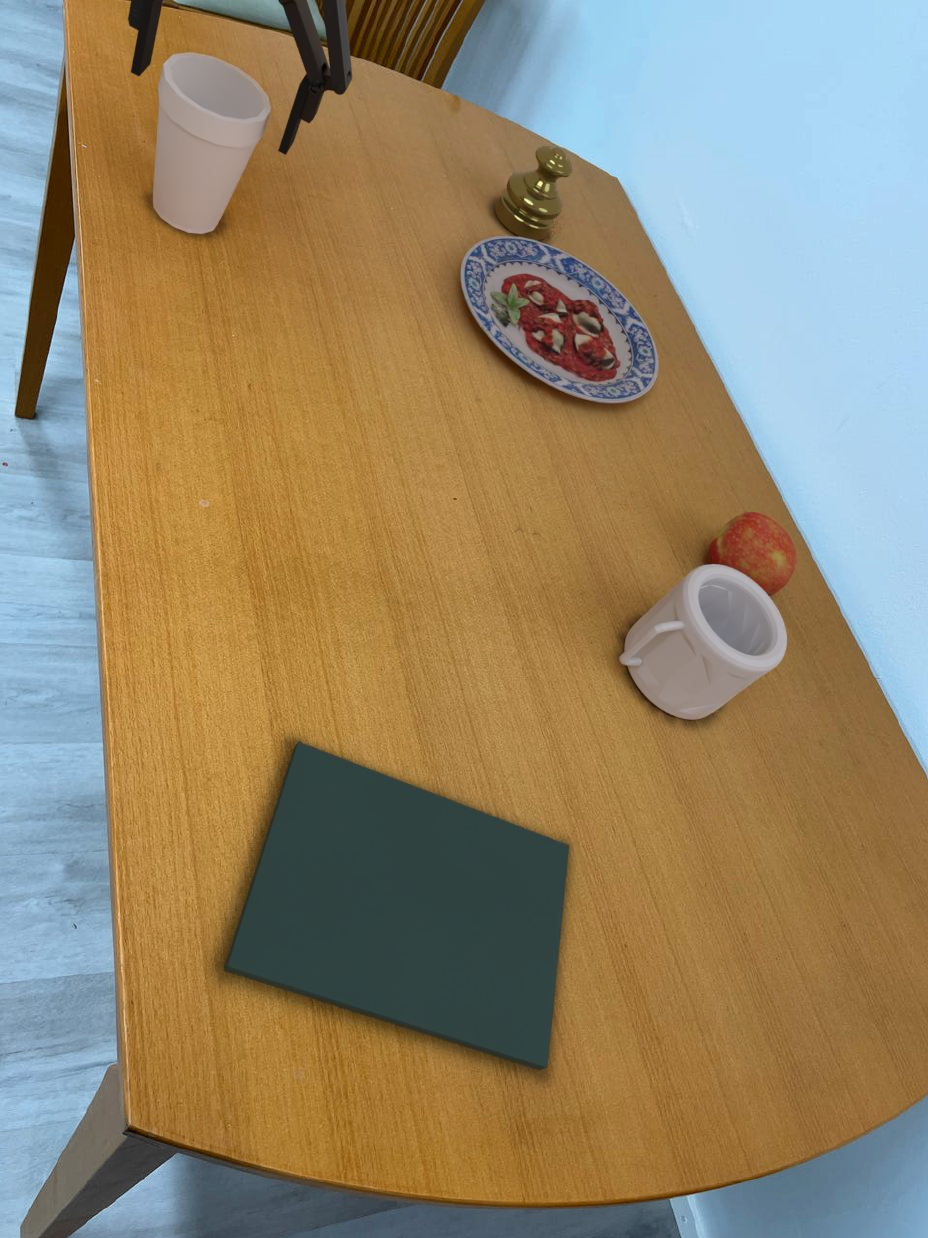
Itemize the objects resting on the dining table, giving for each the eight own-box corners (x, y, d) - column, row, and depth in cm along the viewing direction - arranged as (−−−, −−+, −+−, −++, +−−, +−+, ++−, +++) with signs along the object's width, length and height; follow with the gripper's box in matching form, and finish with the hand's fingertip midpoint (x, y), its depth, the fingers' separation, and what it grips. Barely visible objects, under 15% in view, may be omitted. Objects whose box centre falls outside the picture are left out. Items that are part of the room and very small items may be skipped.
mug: (690, 618, 95) (756, 560, 88) (736, 717, 91) (810, 664, 83) (580, 623, 88) (643, 560, 81) (624, 730, 84) (694, 674, 76)
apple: (714, 534, 105) (763, 487, 99) (771, 589, 104) (824, 545, 98) (683, 566, 99) (733, 519, 93) (743, 624, 98) (797, 580, 92)
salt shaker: (484, 197, 121) (522, 125, 114) (531, 205, 125) (570, 136, 118) (507, 239, 118) (548, 167, 111) (554, 245, 122) (597, 176, 115)
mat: (223, 970, 59) (227, 966, 58) (294, 747, 69) (298, 741, 68) (540, 1070, 64) (547, 1068, 63) (562, 849, 74) (569, 845, 73)
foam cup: (237, 254, 95) (276, 135, 85) (139, 231, 90) (168, 103, 81) (228, 192, 99) (263, 72, 90) (133, 167, 95) (160, 39, 85)
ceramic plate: (645, 310, 124) (659, 292, 121) (651, 448, 108) (666, 430, 106) (463, 219, 116) (474, 198, 114) (441, 353, 100) (453, 331, 98)
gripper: (445, -78, 76) (353, 157, 92) (135, -271, 70) (94, 17, 86) (427, -46, 72) (333, 196, 87) (94, -250, 66) (58, 50, 81)
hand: (214, 108), depth 87 cm, fingers open, 13 cm apart
